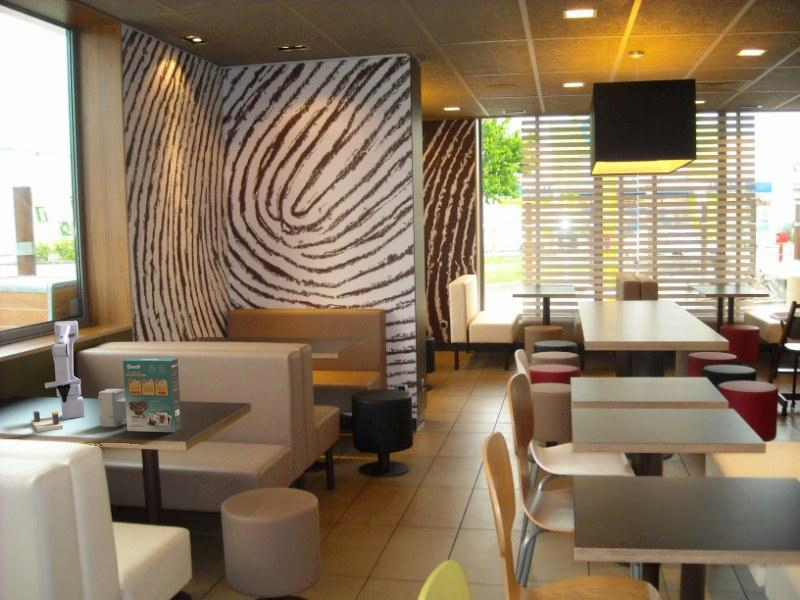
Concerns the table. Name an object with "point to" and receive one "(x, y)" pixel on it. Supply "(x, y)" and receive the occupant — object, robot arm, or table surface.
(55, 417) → the breaker handle
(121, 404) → the circuit breaker
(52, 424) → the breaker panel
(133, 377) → the cake mix box
